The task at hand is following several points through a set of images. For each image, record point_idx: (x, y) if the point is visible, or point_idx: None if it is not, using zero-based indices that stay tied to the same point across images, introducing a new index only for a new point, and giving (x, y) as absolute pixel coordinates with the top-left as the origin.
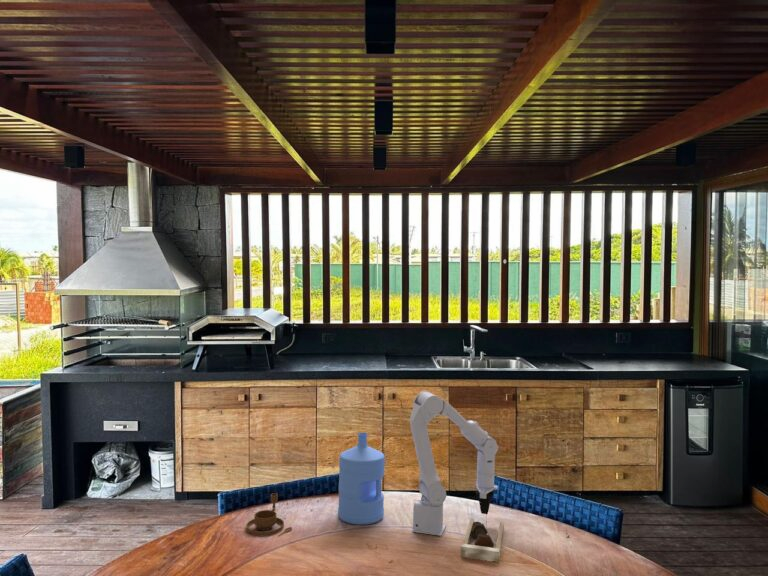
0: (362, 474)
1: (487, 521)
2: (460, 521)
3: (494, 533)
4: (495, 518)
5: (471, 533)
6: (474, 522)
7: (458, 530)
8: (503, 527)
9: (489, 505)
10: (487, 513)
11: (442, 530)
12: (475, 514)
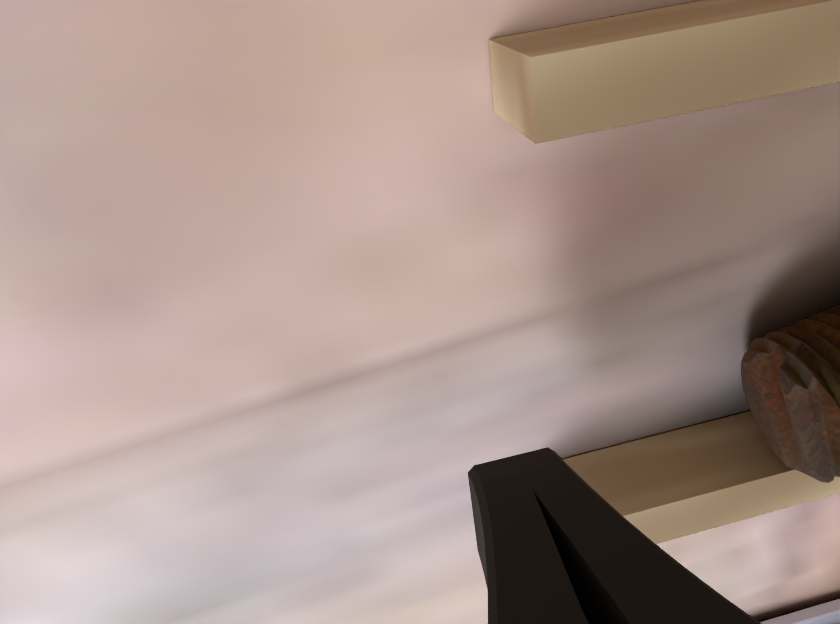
0: None
1: (314, 373)
2: None
3: (735, 141)
4: (90, 308)
5: None
6: (826, 478)
7: (739, 527)
8: (619, 27)
9: (527, 578)
10: (556, 455)
11: (828, 619)
12: (153, 580)
